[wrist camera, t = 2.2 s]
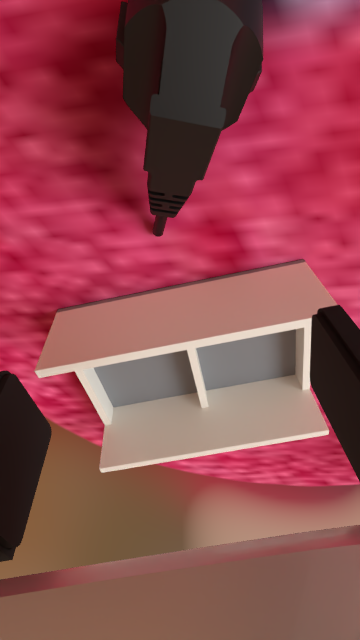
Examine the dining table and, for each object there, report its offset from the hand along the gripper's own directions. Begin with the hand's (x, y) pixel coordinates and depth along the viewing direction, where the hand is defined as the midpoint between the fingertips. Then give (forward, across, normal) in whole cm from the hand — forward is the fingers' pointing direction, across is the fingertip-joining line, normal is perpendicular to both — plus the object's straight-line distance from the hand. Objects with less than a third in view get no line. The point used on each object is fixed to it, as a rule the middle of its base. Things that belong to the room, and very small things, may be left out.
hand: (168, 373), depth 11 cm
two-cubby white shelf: (+14, 0, +10) cm, 17 cm away
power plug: (+15, 0, -1) cm, 15 cm away
